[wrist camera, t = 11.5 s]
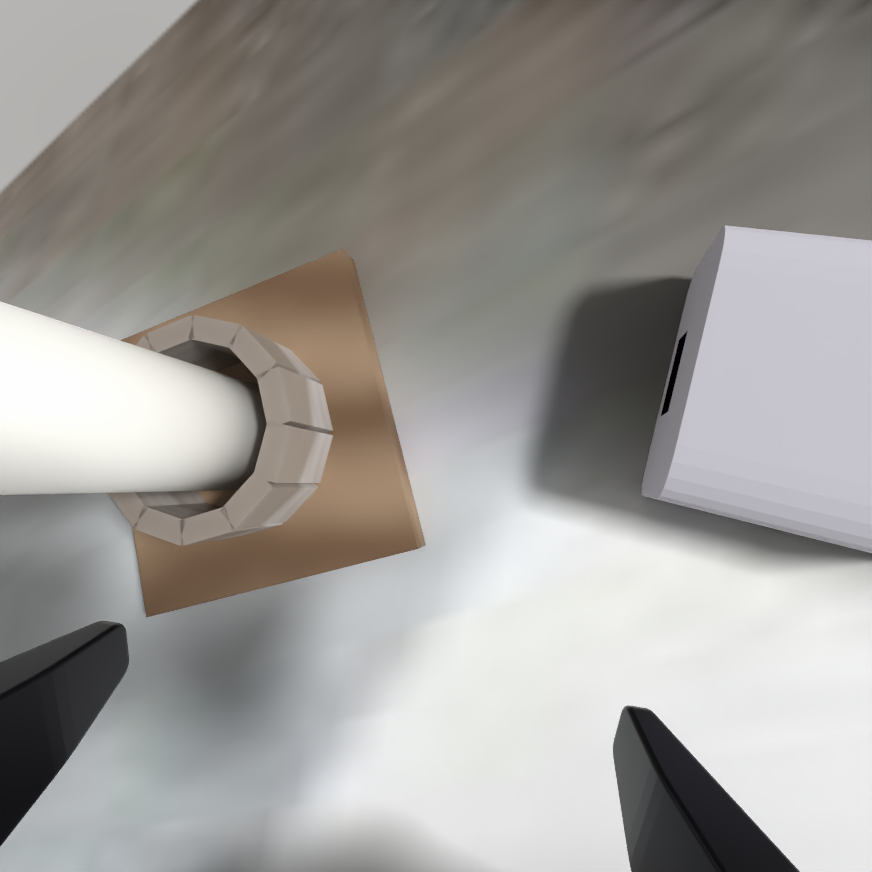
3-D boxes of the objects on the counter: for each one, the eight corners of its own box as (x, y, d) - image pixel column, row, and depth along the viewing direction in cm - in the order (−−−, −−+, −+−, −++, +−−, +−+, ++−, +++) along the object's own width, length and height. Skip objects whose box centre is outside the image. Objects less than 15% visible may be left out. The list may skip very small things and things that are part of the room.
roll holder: (425, 545, 21) (388, 561, 16) (166, 610, 24) (74, 640, 19) (353, 260, 23) (303, 205, 19) (124, 352, 26) (34, 325, 22)
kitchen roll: (275, 501, 22) (-120, 527, 9) (187, 475, 23) (-265, 467, 10) (302, 394, 22) (-49, 274, 9) (213, 375, 23) (-200, 246, 11)
